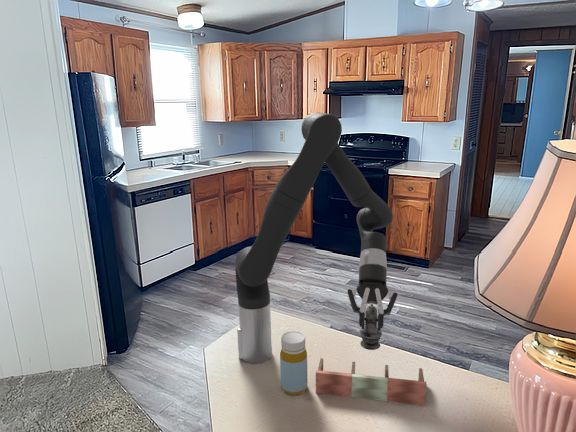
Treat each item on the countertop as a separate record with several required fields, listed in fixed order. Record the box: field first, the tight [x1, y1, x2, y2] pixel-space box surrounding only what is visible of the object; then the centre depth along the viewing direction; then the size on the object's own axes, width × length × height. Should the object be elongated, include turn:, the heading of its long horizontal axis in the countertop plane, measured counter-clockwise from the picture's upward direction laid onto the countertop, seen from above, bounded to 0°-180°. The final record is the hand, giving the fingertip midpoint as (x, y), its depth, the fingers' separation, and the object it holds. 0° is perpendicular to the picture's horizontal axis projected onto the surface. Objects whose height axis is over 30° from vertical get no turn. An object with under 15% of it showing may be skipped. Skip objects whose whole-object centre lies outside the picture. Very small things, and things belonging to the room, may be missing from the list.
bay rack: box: [315, 357, 427, 406], centre depth 112 cm, size 27×10×6 cm, turn 78°
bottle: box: [279, 330, 308, 396], centre depth 111 cm, size 7×7×15 cm
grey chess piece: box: [359, 303, 383, 351], centre depth 113 cm, size 6×6×12 cm
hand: (371, 328), depth 111 cm, fingers closed on grey chess piece, 3 cm apart
